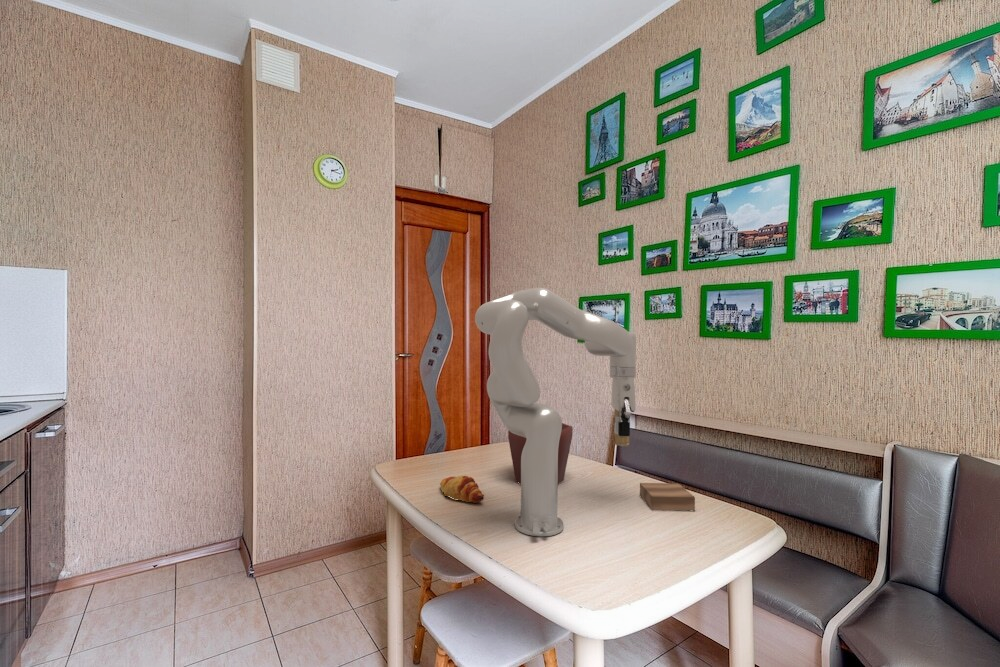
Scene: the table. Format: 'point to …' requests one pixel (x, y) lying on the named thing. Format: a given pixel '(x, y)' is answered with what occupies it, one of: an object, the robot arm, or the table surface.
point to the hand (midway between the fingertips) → (621, 433)
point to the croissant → (462, 489)
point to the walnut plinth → (666, 496)
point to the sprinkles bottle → (618, 439)
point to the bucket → (563, 451)
